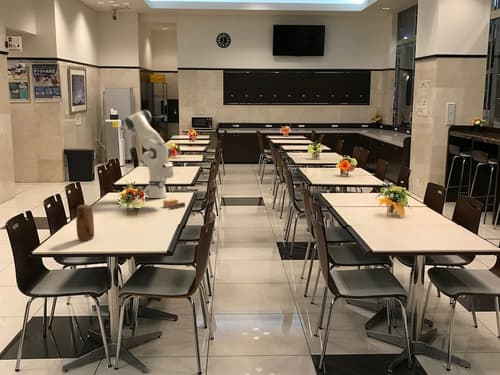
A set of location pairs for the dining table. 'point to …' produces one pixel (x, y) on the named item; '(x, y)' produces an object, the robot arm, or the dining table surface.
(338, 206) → the dining table surface
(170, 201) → the orange block
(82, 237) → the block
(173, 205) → the walnut board
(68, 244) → the dining table surface
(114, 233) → the dining table surface
